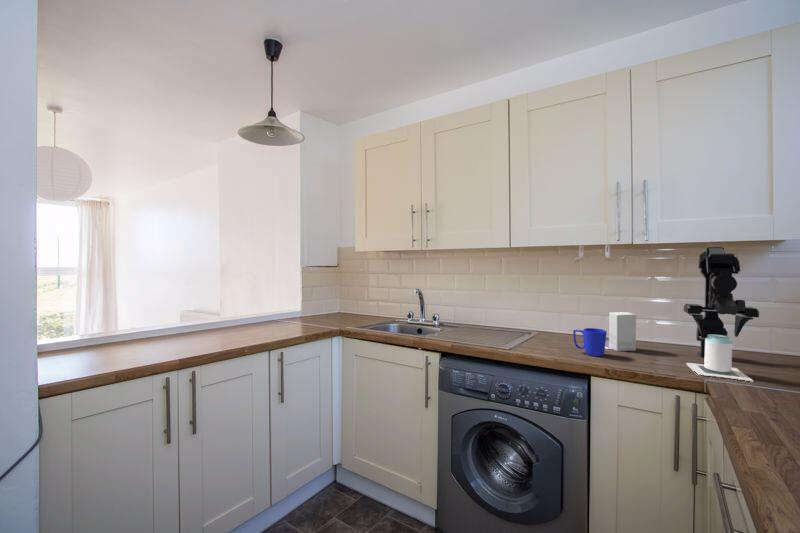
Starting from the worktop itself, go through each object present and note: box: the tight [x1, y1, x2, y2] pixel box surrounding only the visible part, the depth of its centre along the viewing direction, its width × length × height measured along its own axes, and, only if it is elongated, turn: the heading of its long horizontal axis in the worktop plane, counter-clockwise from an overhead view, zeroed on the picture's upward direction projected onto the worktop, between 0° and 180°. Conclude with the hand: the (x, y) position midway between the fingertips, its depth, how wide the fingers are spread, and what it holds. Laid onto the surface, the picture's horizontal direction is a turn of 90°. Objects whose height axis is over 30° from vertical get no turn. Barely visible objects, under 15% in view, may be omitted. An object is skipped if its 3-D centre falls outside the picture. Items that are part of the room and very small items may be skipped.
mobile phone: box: [605, 339, 614, 350], centre depth 162 cm, size 8×1×15 cm
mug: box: [572, 327, 608, 357], centre depth 148 cm, size 8×12×10 cm
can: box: [703, 334, 733, 373], centre depth 125 cm, size 7×7×12 cm
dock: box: [685, 362, 754, 383], centre depth 125 cm, size 14×14×1 cm
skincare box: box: [608, 311, 637, 352], centre depth 155 cm, size 8×7×16 cm
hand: (718, 335), depth 124 cm, fingers open, 9 cm apart
